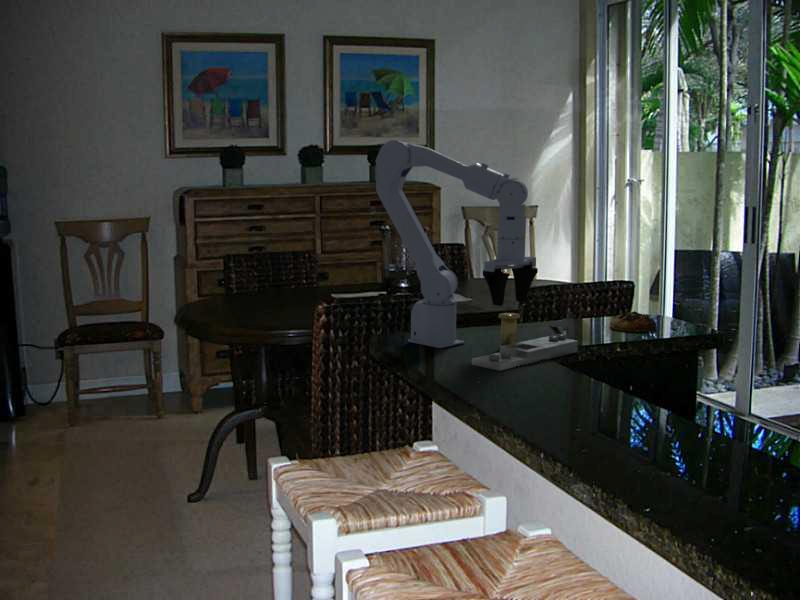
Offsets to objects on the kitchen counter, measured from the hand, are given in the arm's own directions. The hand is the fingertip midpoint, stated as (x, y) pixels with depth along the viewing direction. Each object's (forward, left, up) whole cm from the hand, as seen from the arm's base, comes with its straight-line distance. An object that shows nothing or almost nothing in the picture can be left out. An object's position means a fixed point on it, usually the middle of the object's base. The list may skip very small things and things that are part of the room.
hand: (509, 303), depth 197 cm
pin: (0, 0, -9) cm, 9 cm away
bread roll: (+6, +39, -10) cm, 41 cm away
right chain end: (+9, -1, -9) cm, 13 cm away
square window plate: (+9, -10, -9) cm, 17 cm away
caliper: (-3, +22, -10) cm, 24 cm away
